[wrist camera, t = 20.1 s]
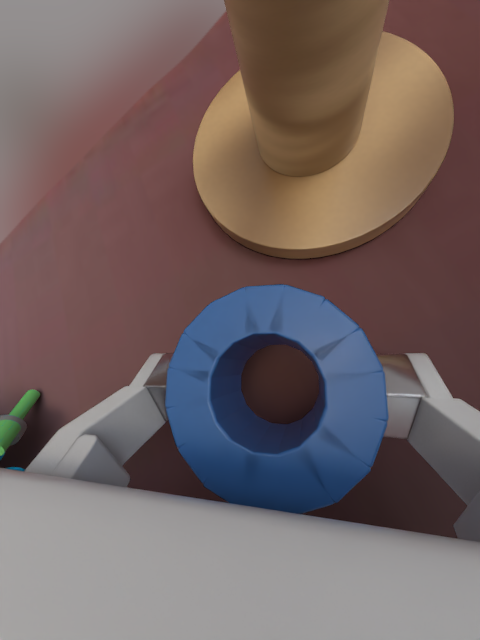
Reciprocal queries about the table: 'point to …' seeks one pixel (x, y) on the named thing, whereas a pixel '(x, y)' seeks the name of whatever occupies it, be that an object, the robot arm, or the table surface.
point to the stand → (320, 128)
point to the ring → (260, 435)
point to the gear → (16, 423)
